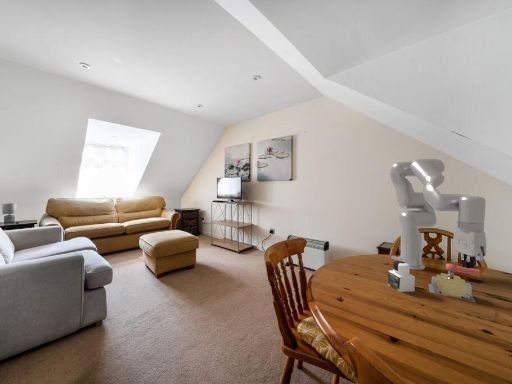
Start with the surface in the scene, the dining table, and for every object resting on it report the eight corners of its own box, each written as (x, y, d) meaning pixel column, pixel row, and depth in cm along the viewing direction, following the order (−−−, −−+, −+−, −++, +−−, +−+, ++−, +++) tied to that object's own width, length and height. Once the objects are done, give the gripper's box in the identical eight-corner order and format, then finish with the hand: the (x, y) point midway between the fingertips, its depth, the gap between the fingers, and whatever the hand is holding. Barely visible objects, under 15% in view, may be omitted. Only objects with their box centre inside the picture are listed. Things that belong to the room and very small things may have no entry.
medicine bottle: (387, 285, 98) (388, 259, 97) (402, 284, 99) (402, 259, 98) (399, 293, 91) (399, 265, 90) (414, 292, 91) (415, 265, 91)
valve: (432, 292, 90) (432, 269, 90) (431, 286, 95) (432, 265, 95) (471, 301, 83) (472, 277, 83) (468, 294, 88) (469, 271, 88)
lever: (446, 267, 91) (446, 262, 91) (479, 274, 84) (479, 269, 84) (445, 270, 89) (445, 265, 89) (479, 277, 82) (479, 271, 82)
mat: (429, 293, 91) (429, 291, 91) (428, 285, 98) (428, 283, 98) (475, 304, 82) (475, 302, 82) (470, 294, 89) (471, 292, 89)
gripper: (445, 222, 94) (443, 262, 95) (479, 231, 79) (476, 278, 80) (462, 222, 93) (460, 262, 95) (500, 231, 78) (497, 278, 80)
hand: (467, 270), depth 87 cm, fingers closed
